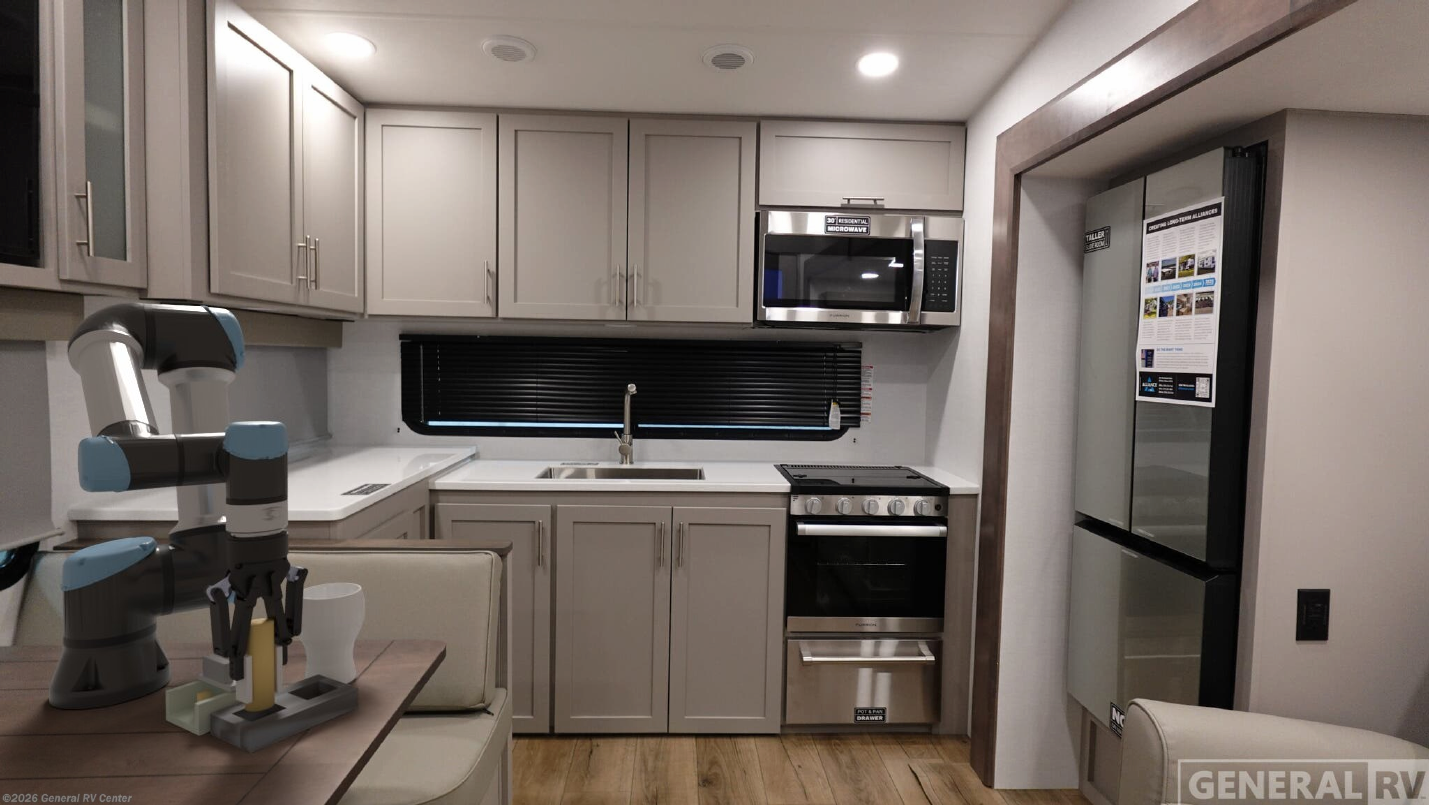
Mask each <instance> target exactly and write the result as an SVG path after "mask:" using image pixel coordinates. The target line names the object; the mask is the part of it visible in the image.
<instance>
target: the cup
mask: <svg viewBox="0 0 1429 805" xmlns="http://www.w3.org/2000/svg"><path fill="white" fill-rule="evenodd" d="M363 592H364V591H363V589H362V586H361V585H359V584H357V583H352V582H351V583H350V582H332V583H331V582H330V583H323V584H318V585H312V586H310V587H306V588H304V589H303V609H302V630H301V634H300V635H299V636H297V637H298V639H299V640H300V641H301V643H302V645H303V646H304V649H305V656H306V657H305V658H306V668H305V672H304V679H307V678H310V677H312V676H315V675H318V674H319V675H322V676H325V677H328V678H331V679H333V680H336V681H339V682H342V683H345V684H349V683H351V682H352V681H354V680H355V679H356V678H357V672H356V665H355V660H354V655H353V654H354V648H355V641H356V639H357V637H358V634H359V633H360V632H361V629H362V626H363V623H364V620H365V617H366V600H365V596H364V593H363ZM304 679H303V680H304Z"/></svg>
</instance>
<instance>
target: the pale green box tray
mask: <svg viewBox="0 0 1429 805" xmlns="http://www.w3.org/2000/svg"><path fill="white" fill-rule="evenodd" d="M238 703H241V701H238V700H236V691H233V692H229V691H226V690H224V689H221V688H219V687H216V686H214V685H211V684H209V683H206V682H204V681H201V680H199V679H197V680H194V681H192V682H188V683H186V684H182V685H179V686H176V687H173V688H169V689H167V690H165V720H166V722H167V721H168V722H169V723H171V724H173V725H176V726H178V727H180V728H181V729H184V730H186V731H188V732H190V733H192V734H195V735H197V736H202V735H204V734H207V733H209V732H210V713H213V712H216V711H219V710H221V709H224V708H227V707H230V706H232V705H235V704H238Z"/></svg>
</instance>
